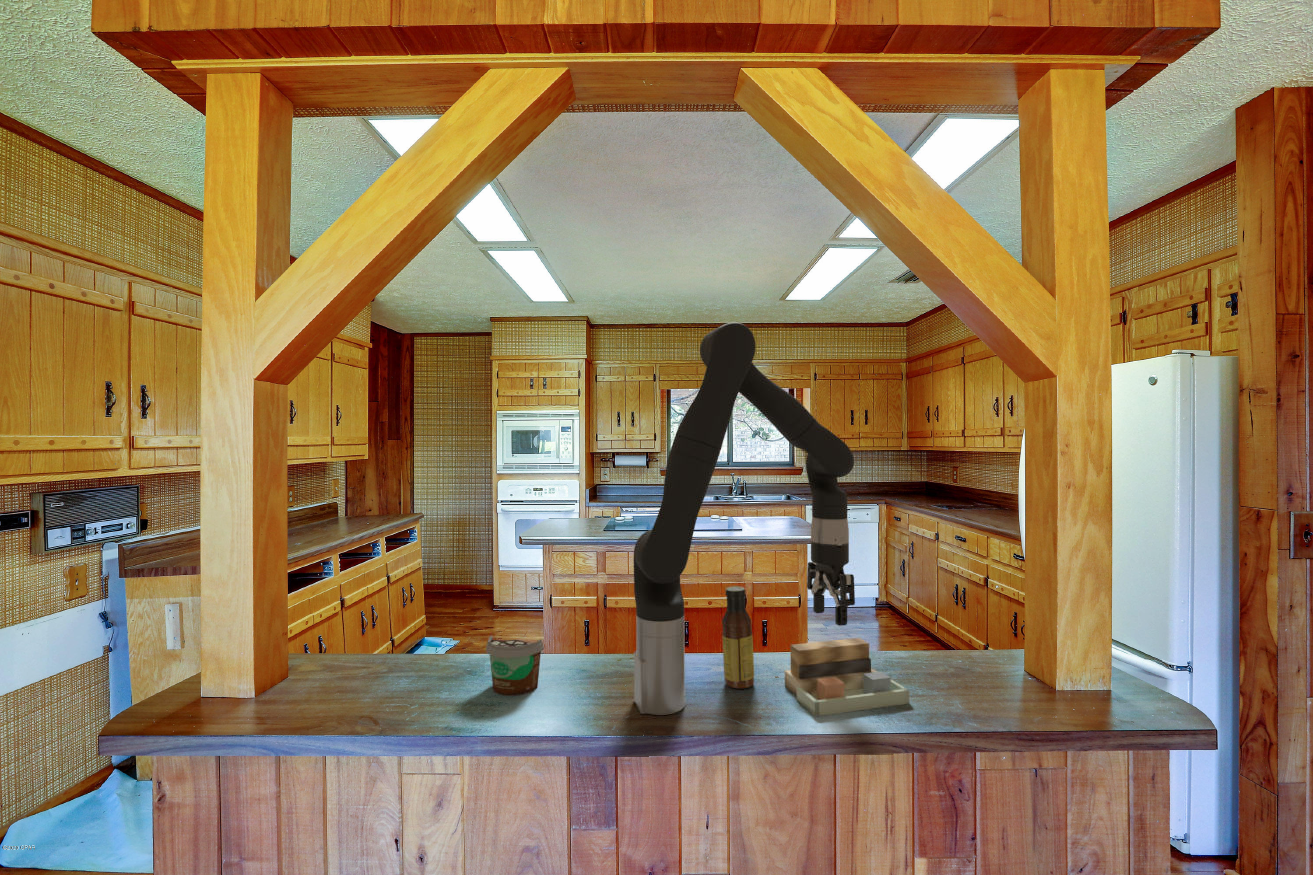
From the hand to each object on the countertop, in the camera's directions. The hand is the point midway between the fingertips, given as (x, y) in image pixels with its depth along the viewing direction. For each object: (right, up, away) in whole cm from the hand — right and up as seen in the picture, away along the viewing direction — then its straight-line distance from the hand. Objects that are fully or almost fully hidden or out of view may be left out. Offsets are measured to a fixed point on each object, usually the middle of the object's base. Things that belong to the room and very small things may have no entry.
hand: (829, 618), depth 120 cm
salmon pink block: (-3, -11, -7) cm, 14 cm away
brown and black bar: (0, -11, 0) cm, 11 cm away
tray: (+2, -14, -7) cm, 16 cm away
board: (0, -14, -1) cm, 14 cm away
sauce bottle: (-19, -14, +1) cm, 23 cm away
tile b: (+7, -11, -5) cm, 14 cm away
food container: (-65, -15, -2) cm, 67 cm away
